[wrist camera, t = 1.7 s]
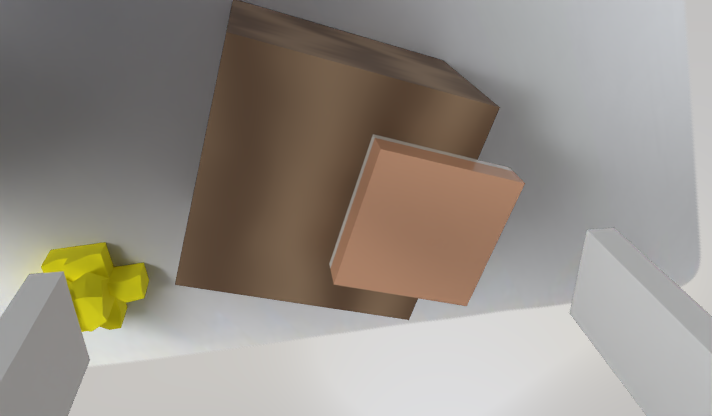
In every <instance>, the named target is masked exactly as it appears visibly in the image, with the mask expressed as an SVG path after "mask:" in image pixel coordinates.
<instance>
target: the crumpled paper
mask: <svg viewBox="0 0 712 416" xmlns="http://www.w3.org/2000/svg"><path fill="white" fill-rule="evenodd" d="M41 268H42V270H43V273H49V272H62V271H64V275H65V278H66V281H67V285H68V288H69V292H70V295H71V298H72V302H73V305H74V308H75V312H76V315H77V318H78V322H79V325H80V329H81V332H84V331H93V330H95V329H96V328H98V327H103V328H106V329H109V330H111V329H117V328H121V326H122V323H123V320H124V317H125V313H126V310H127V305H126V303H127V302H131V301H135V300H139V299H143V298H144V297H145V294H146V290H147V287H148V283H149V278H148V275H147V271H146V268H145V265H144V263H138V264H131V265H124V266H117V267H114V266H113V263H112V260H111V257H110V254H109V251H108V248H107V245H106V242H104V243H96V244H89V245H82V246H75V247H68V248H61V249H53V250H50V252H49V254H48V255H47V257H46V259H45V261H44V262H43V264H42V266H41Z"/></svg>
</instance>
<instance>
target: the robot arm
mask: <svg viewBox="0 0 712 416" xmlns="http://www.w3.org/2000/svg"><path fill="white" fill-rule="evenodd" d="M570 315H571V316H572V317H573V319H574V320H575V321H576V323H577V324H578V325H579V327H580V328H581V329H582V331H583V332H584V333H585V335H586V336H587V337H588V338H589V340H590V341H591V342H592V344H593V345H594V346H595V348H596V349H597V350H598V352H599V353H600V354H601V356H602V357H603V358H604V360H605V361H606V362H607V364H608V365H609V366H610V368H611V369H612V370H613V372H614V373H615V374H616V376H617V377H618V378H619V379H620V381H621V382H622V384H623V385H624V386H625V388H626V389H627V390H628V392H629V393H630V394H631V396H632V397H633V398H634V400H635V401H636V402H637V404H638V405H639V406H640V408H641V409H642V410H643V412H644V413H645V414H646V416H712V316H711V315H710V314H709V313H708V312H707V311H705V310H704V309H703V308H702V307H701V306H700V305H699V304H698V303H697V302H695V301H694V300H693V299H692V298H691V297H690V296H689V295H688V294H687V293H686V292H685V291H683V290H682V289H681V288H680V287H679V286H678V285H677V284H676V283H675V282H674V281H672V280H671V279H670V278H669V277H668V276H667V275H666V274H665V273H664V272H663V271H661V270H660V269H659V268H658V267H657V266H656V265H655V264H654V263H653V262H652V261H650V260H649V259H648V258H647V257H646V256H645V255H644V254H643V253H642V252H641V251H639V250H638V249H637V248H636V247H635V246H634V245H633V244H632V243H631V242H630V241H629V240H627V239H626V238H625V237H624V236H623V235H622V234H621V233H620V232H619V231H618V230H616V229H615V228H601V229H589V230H587V232H586V237H585V241H584V246H583V251H582V256H581V261H580V265H579V270H578V275H577V280H576V285H575V290H574V294H573V299H572V304H571V309H570ZM89 361H90V359H89V355H88V352H87V349H86V345H85V342H84V339H83V335H82V332H81V329H80V325H79V322H78V318H77V315H76V312H75V308H74V305H73V302H72V298H71V295H70V292H69V288H68V285H67V281H66V278H65V275H64V271H62V272H49V273H37V274H29V275H28V277H27V278H26V280H25V281H24V283H23V284H22V286H21V287H20V289H19V290H18V292H17V293H16V295H15V296H14V298H13V299H12V301H11V302H10V304H9V305H8V307H7V308H6V310H5V312H4V313H3V315H2V316H1V318H0V416H68V414H69V411H70V408H71V406H72V404H73V401H74V399H75V396H76V394H77V391H78V389H79V386H80V384H81V381H82V378H83V376H84V374H85V371H86V369H87V366H88V364H89Z"/></svg>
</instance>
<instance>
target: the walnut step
mask: <svg viewBox="0 0 712 416" xmlns="http://www.w3.org/2000/svg"><path fill="white" fill-rule="evenodd" d="M499 108H500V107H499V106H497V105H496V104H495V103H494V102H493V101H491V100H490V99H489V98H488V97H487V96H485V95H484V94H483V93H482V92H481V91H479V90H478V89H477V88H476V87H475V86H473V85H472V84H471V83H470V82H468V81H467V80H466V79H465V78H464V77H462V76H461V75H460V74H459V73H458V72H456V71H455V70H454V69H453V68H452V67H450V66H449V65H448V64H447V63H446V62H444V61H443V60H440V59H437V58H433V57H430V56H426V55H423V54H420V53H416V52H413V51H409V50H406V49H403V48H399V47H396V46H392V45H389V44H386V43H382V42H379V41H375V40H372V39H368V38H365V37H362V36H358V35H355V34H351V33H348V32H345V31H341V30H338V29H334V28H331V27H328V26H324V25H321V24H317V23H314V22H310V21H307V20H304V19H300V18H297V17H293V16H290V15H287V14H283V13H280V12H276V11H273V10H270V9H266V8H263V7H259V6H256V5H252V4H249V3H246V2H242V1H239V0H233V2H232V7H231V12H230V17H229V21H228V26H227V31H226V36H225V41H224V46H223V51H222V56H221V61H220V66H219V71H218V75H217V80H216V85H215V90H214V95H213V100H212V105H211V110H210V115H209V120H208V124H207V129H206V134H205V139H204V144H203V149H202V154H201V159H200V164H199V169H198V174H197V178H196V183H195V188H194V193H193V198H192V203H191V208H190V213H189V218H188V223H187V228H186V232H185V237H184V242H183V247H182V252H181V257H180V262H179V267H178V272H177V277H176V282H175V285H180V286H187V287H194V288H200V289H207V290H214V291H220V292H227V293H234V294H240V295H247V296H254V297H260V298H267V299H274V300H280V301H287V302H294V303H300V304H307V305H314V306H320V307H327V308H333V309H340V310H347V311H353V312H360V313H367V314H373V315H380V316H387V317H393V318H400V319H407V320H409V318H410V316H411V314H412V311H413V309H414V307H415V304H416V302H417V300H418V298H414V297H408V296H402V295H395V294H389V293H383V292H377V291H371V290H365V289H358V288H352V287H346V286H340V285H334V283H333V279H332V274H331V269H330V265H329V263H330V260H331V257H332V254H333V251H334V248H335V245H336V242H337V240H338V237H339V234H340V231H341V228H342V225H343V222H344V219H345V216H346V213H347V210H348V207H349V204H350V201H351V198H352V195H353V192H354V189H355V186H356V183H357V180H358V177H359V174H360V171H361V168H362V165H363V162H364V159H365V156H366V153H367V150H368V147H369V144H370V141H371V138H372V136H373V134H374V135H378V136H382V137H386V138H391V139H395V140H399V141H403V142H407V143H411V144H415V145H419V146H423V147H427V148H432V149H436V150H440V151H444V152H448V153H452V154H456V155H460V156H464V157H468V158H473V159H478V157H479V155H480V152H481V150H482V148H483V145H484V143H485V141H486V138H487V136H488V134H489V131H490V129H491V127H492V124H493V122H494V120H495V117H496V115H497V113H498V110H499Z"/></svg>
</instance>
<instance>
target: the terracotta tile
mask: <svg viewBox="0 0 712 416" xmlns="http://www.w3.org/2000/svg"><path fill="white" fill-rule="evenodd" d="M524 184H525V183H524V182H523V181H522V180H521V179H520V178H519V177H518V176H517V175H516V174H515V173H514V172H513V170H512V169H511V168H509V167H505V166H501V165H497V164H493V163H489V162H485V161H481V160H477V159H473V158H468V157H464V156H460V155H456V154H452V153H448V152H444V151H440V150H436V149H432V148H427V147H423V146H419V145H415V144H411V143H407V142H403V141H399V140H395V139H391V138H386V137H382V136H378V135H374V134H373V136H372V138H371V141H370V144H369V147H368V150H367V153H366V156H365V159H364V162H363V165H362V168H361V171H360V174H359V177H358V180H357V183H356V186H355V189H354V192H353V195H352V198H351V201H350V204H349V207H348V210H347V213H346V216H345V219H344V222H343V225H342V228H341V231H340V234H339V237H338V240H337V242H336V245H335V248H334V251H333V254H332V257H331V260H330V263H329V265H330V269H331V274H332V279H333V283H334V285H340V286H346V287H352V288H358V289H365V290H371V291H377V292H383V293H389V294H395V295H402V296H408V297H414V298H420V299H426V300H432V301H438V302H445V303H451V304H457V305H463V306H467V304H468V302H469V300H470V298H471V296H472V294H473V292H474V289H475V287H476V285H477V283H478V281H479V279H480V277H481V275H482V273H483V271H484V268H485V266H486V264H487V262H488V260H489V258H490V256H491V254H492V252H493V250H494V247H495V245H496V243H497V241H498V239H499V237H500V235H501V233H502V231H503V228H504V226H505V224H506V222H507V220H508V218H509V216H510V214H511V212H512V210H513V207H514V205H515V203H516V201H517V199H518V197H519V195H520V193H521V191H522V189H523V186H524Z"/></svg>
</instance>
